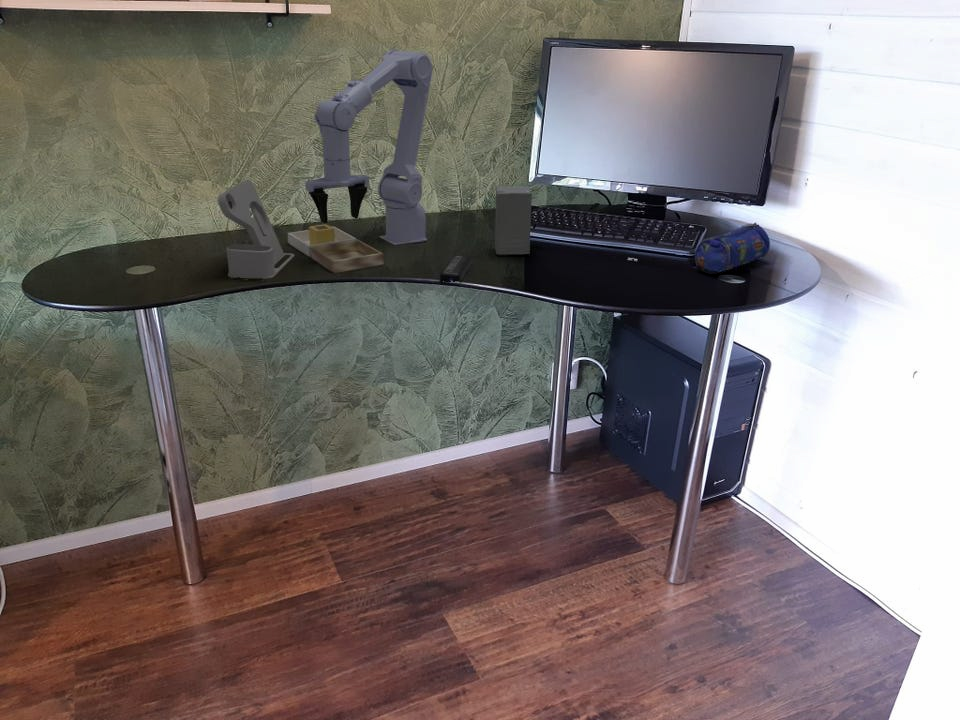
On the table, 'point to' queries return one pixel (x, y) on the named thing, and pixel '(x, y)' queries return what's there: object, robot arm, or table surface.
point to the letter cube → (321, 234)
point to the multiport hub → (455, 268)
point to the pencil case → (733, 248)
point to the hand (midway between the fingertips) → (339, 219)
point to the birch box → (347, 256)
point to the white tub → (303, 244)
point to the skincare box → (513, 219)
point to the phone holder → (251, 234)
